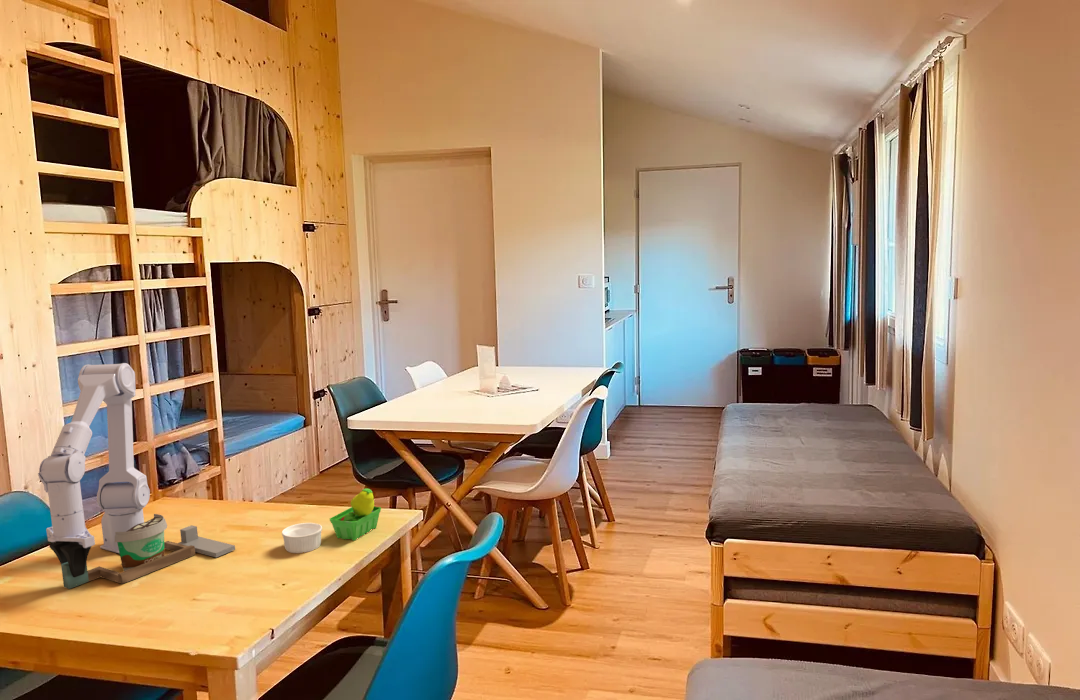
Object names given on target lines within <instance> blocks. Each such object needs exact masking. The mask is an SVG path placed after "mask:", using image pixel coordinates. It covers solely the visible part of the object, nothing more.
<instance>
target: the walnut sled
mask: <svg viewBox="0 0 1080 700" xmlns="http://www.w3.org/2000/svg"><path fill="white" fill-rule="evenodd" d="M178 543H179V542H174V541H170V540H165V541H164V550H168V551H171V552H170V553H167V554H164V556H162V557H160V558H157V559H155V560H153V561H150V562H147V563H144V564H142V565H139V566H137V567H134V568H131V569H129V570H126V571H124V572H123V571H121V572H118V571H115V570H112V569H109V568H105V567H102V566H96V567H94V568H91V569H89V570H88V564H87V562H86V567H85V573H84V574H83V575H80V576H77V577H73V576H72V574H71V571H70V568H69V564H68V562H66V563H63V564H61V563H60V568H61V575H62V582H63V583H62V584H63V588H65V589H68V590H70V589H73V588H75V587H78V586H81V585H83V584H85V583H88V582H91V581H93V580H96V579H99V578H103V579H106V580H109V581H112V582H115V583H118V584H121V585H124V584H125V583H127V582H128V583H129V582H130V581H133V580H136V579H138V578H140V577H143V576H145V575H148V574H150V573H152V572H155V571H158V570H160V569H163V568H166V567H168V566H170V565H173V564H176V563H178V562H181V561H183V560H185V559H188V558H190V557H193V556H195V555H196V552H195V547H194V546H192V545H190V546H186V545H182V544H178Z"/></svg>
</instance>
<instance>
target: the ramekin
mask: <svg viewBox="0 0 1080 700" xmlns="http://www.w3.org/2000/svg"><path fill="white" fill-rule="evenodd" d="M322 531H323V526H322V525H321V524H320V523H316V522H302V523H301V522H300V523H296V524H292V525H289V526H287V527H285V528H284V529H282V531H281V535H282V538H283V543H284V544H283V545H284V549H285V550H286V551H287V552H288V553H291V554H301V553H302V554H303V552H304V553H309V552H312V551H314V549H315V550H316V549H318V548H319V547H320V546H321V544H322Z"/></svg>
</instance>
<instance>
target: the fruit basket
mask: <svg viewBox="0 0 1080 700" xmlns="http://www.w3.org/2000/svg"><path fill="white" fill-rule="evenodd" d="M350 506H351V507H350V508H348V509H346V510H343V511H341V512H339V513H338V514H336V515H334V516H332V517H330V518H329V522H330V523H331V525H332V528H333V530H334V533H335V536H336V538H337V539H339V538H341V539H342V540H346V539H352V540H351V541H357V540H358V539H359V538H361V537H360V536H362V535H363V536H365V535H366V534H365V533H367V532H369V531H370V530H371V529H374V528H375V529H377V526H378V523H379V517H380V513H381V510H382V507H381V506H375V500H374V493H373V491H372V489H370V488H363V489H362V490H361V491H360V492H359V493H358V494H356V495H354V496H353V498H352V499H351V501H350ZM375 529H374V530H375ZM371 531H372V530H371ZM371 531H370V532H371ZM370 532H369V533H370ZM364 534H365V535H364ZM367 534H368V533H367ZM363 536H362V537H363ZM357 538H358V539H357ZM356 539H357V540H356Z"/></svg>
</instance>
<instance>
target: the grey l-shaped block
mask: <svg viewBox="0 0 1080 700" xmlns="http://www.w3.org/2000/svg"><path fill="white" fill-rule="evenodd" d="M179 531H180V540H181V541H179V542H177V543H178V544H182V545H186V546H190V545H192V546H194V547H195V553H198V554H202V555H206V556H210V557H213V558H219V557H222V556H223V555H226V554H229V553H231V552H233V551H235V550H236V546H235V545H234V544H230V543H227V542H223V541H219V540H215V539H211V538H207V537H202V536H199V534H198V533H199V532H198V527H197V526H195V525H188V526H185V527H183V528H181V529H179Z"/></svg>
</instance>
